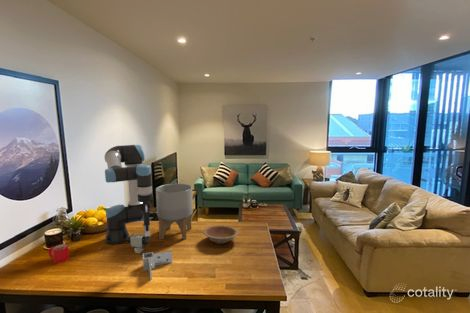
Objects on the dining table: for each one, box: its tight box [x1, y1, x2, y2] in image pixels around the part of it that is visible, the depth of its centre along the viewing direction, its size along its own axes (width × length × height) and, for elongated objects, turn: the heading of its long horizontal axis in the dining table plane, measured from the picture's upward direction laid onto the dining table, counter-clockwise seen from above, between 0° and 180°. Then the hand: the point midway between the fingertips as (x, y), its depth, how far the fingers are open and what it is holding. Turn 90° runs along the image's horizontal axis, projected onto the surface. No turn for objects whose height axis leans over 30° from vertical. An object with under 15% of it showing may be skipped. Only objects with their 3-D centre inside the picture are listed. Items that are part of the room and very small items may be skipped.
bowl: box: [202, 224, 239, 245], centre depth 177 cm, size 24×24×8 cm
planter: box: [155, 182, 194, 241], centre depth 187 cm, size 25×25×34 cm
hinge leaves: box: [142, 249, 173, 281], centre depth 144 cm, size 16×16×7 cm
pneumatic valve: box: [127, 233, 149, 254], centre depth 163 cm, size 6×12×12 cm, turn 78°
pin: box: [142, 211, 151, 243], centre depth 143 cm, size 4×4×17 cm
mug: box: [47, 243, 70, 264], centre depth 155 cm, size 8×12×8 cm, turn 86°
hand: (147, 234), depth 144 cm, fingers closed on pin, 3 cm apart
